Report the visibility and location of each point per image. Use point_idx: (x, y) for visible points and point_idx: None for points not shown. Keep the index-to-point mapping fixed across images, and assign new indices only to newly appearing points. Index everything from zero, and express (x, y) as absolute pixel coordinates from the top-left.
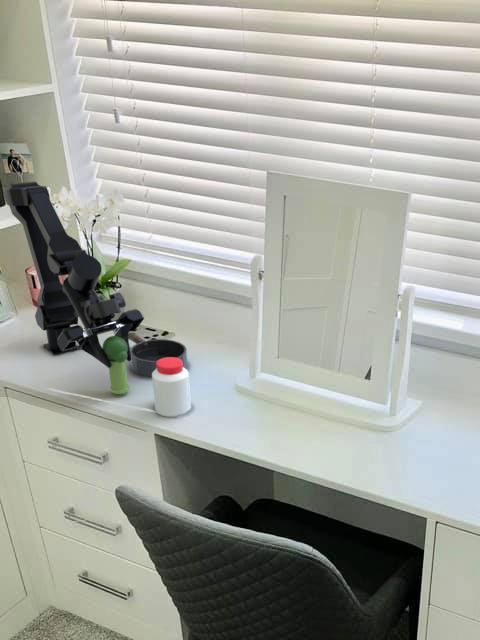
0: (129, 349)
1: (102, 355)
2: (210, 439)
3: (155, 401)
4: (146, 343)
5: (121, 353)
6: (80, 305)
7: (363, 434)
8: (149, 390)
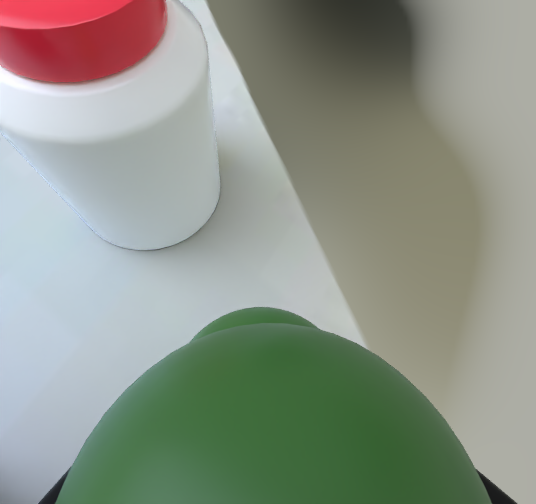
0: (57, 490)
1: (478, 474)
2: (198, 3)
3: (215, 171)
4: None
5: (279, 313)
6: None
7: None
8: (107, 390)
